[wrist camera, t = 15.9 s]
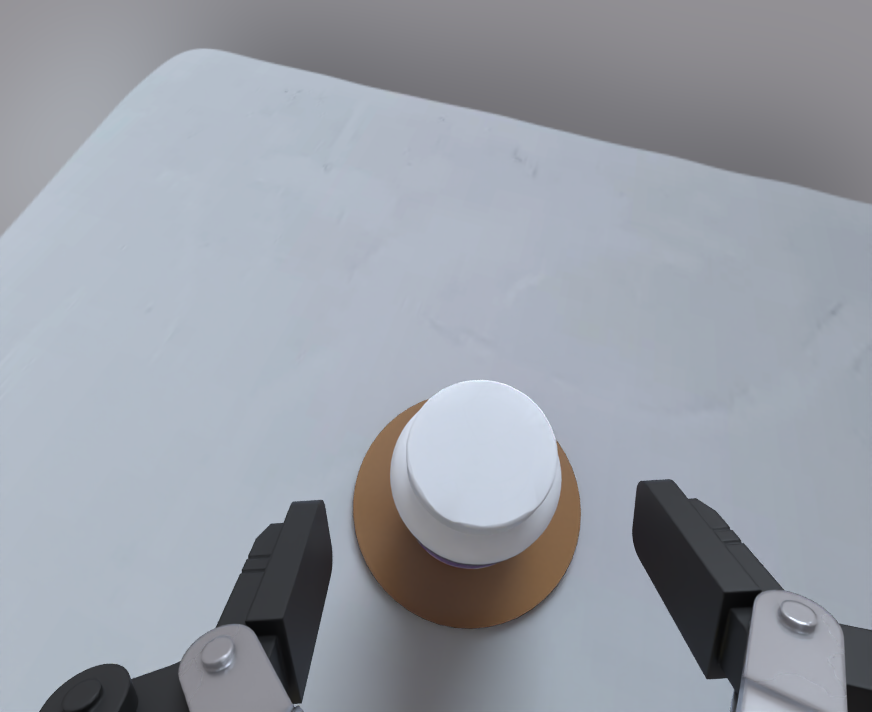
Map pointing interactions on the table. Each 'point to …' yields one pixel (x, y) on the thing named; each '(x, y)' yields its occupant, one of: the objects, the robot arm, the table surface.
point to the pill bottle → (476, 474)
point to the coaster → (446, 585)
